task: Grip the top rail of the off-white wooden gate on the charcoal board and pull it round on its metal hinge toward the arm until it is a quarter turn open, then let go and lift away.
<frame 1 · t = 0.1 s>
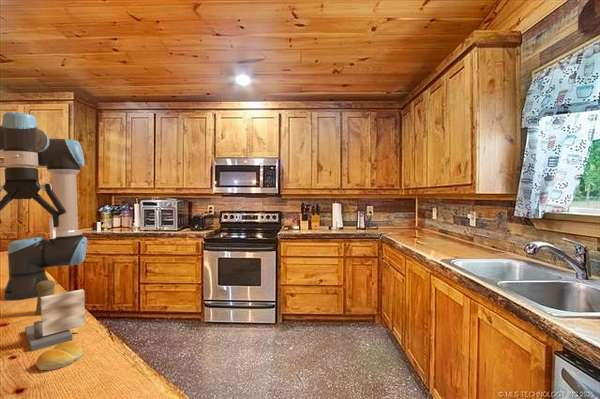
hand: (24, 240, 95), 28 cm above the table, tool pointing down, fingers open, 13 cm apart
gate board: (48, 335, 95), on the table
bread roll: (60, 362, 81), on the table
gate: (59, 312, 93), point 7 cm above the table, hinge at 0.0°
cork: (46, 312, 114), on the table
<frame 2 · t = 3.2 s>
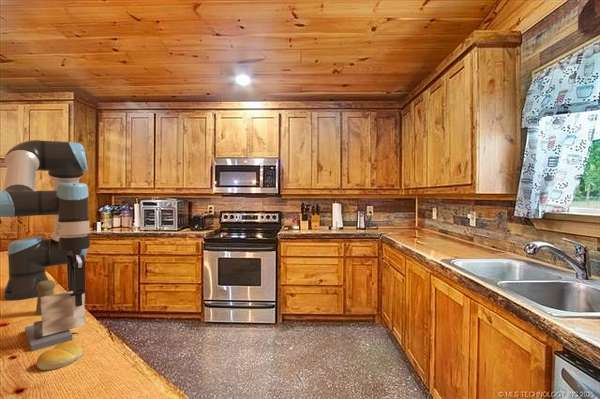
hand: (77, 314, 96), 6 cm above the table, tool pointing down, fingers closed on gate, 3 cm apart
gate: (59, 312, 93), point 7 cm above the table, hinge at -0.2°, touching gripper
everything else where it was.
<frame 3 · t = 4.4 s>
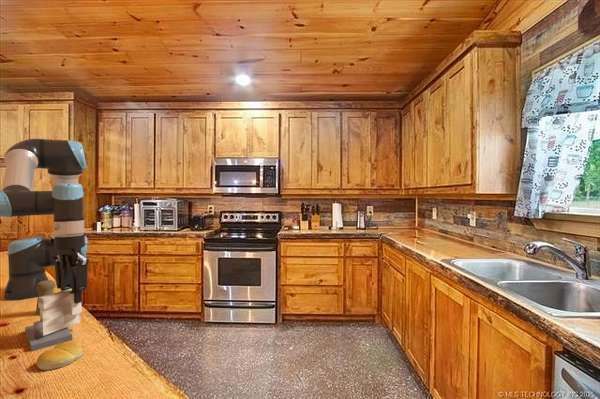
hand: (72, 312, 98), 6 cm above the table, tool pointing down, fingers closed on gate, 3 cm apart
gate: (57, 311, 94), point 7 cm above the table, hinge at 20.6°, touching gripper
everything else where it was.
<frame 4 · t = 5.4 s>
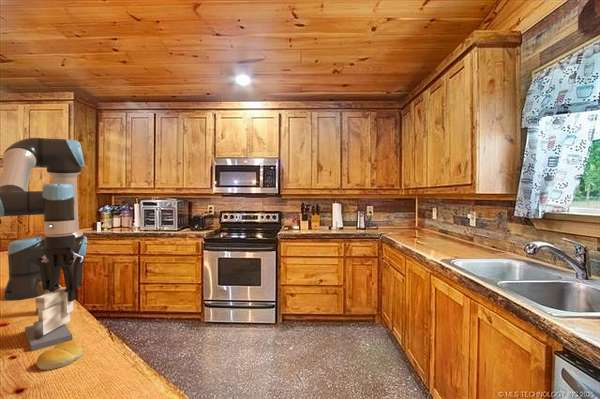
hand: (63, 311, 99), 6 cm above the table, tool pointing down, fingers closed on gate, 3 cm apart
gate: (52, 311, 95), point 7 cm above the table, hinge at 42.9°, touching gripper
everything else where it was.
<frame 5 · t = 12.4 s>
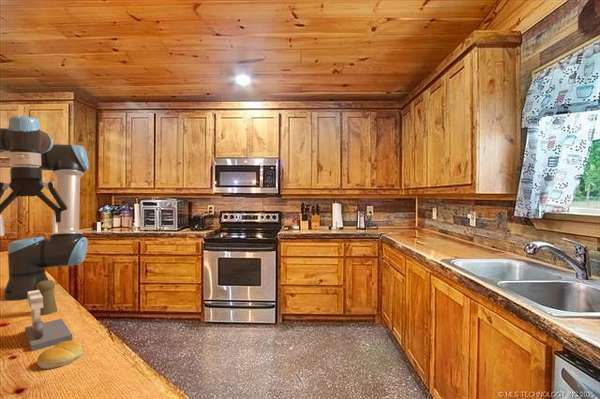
hand: (29, 234, 103), 29 cm above the table, tool pointing down, fingers open, 13 cm apart
gate: (36, 313, 94), point 7 cm above the table, hinge at 89.6°
everything else where it was.
at the end: gate at +90° (first picture: +0°); the gripper is holding nothing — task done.
